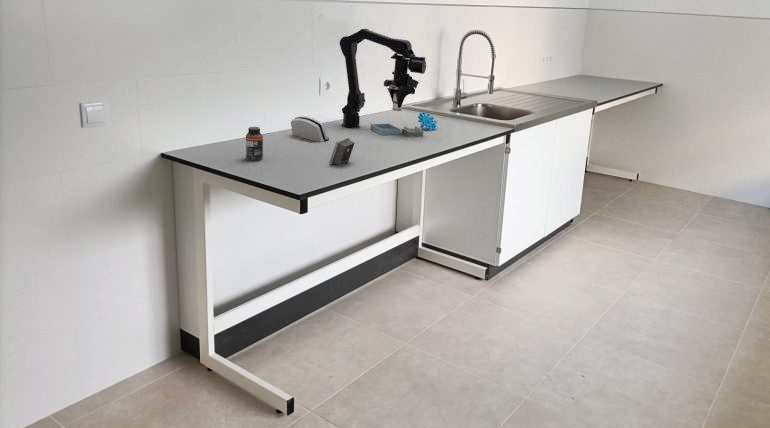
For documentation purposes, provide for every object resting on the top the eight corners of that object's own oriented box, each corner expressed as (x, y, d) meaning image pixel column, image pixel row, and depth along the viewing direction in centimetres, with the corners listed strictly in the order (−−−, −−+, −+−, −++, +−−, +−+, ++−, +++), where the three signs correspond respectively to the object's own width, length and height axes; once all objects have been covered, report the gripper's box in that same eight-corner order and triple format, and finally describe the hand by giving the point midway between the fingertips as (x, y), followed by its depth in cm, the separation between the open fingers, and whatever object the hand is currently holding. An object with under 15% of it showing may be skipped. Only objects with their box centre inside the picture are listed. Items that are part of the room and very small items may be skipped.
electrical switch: (340, 159, 243) (343, 135, 240) (352, 162, 242) (356, 138, 238) (328, 164, 235) (331, 139, 231) (341, 168, 233) (345, 143, 230)
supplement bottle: (255, 156, 239) (255, 125, 235) (266, 159, 235) (266, 128, 231) (242, 158, 234) (242, 127, 231) (253, 162, 231) (253, 130, 227)
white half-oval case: (330, 140, 270) (325, 118, 264) (322, 146, 267) (318, 124, 261) (300, 133, 279) (295, 111, 273) (292, 138, 276) (287, 116, 270)
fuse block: (408, 137, 286) (409, 129, 285) (401, 133, 292) (402, 125, 291) (423, 136, 289) (423, 128, 288) (415, 132, 295) (416, 125, 294)
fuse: (394, 110, 286) (396, 94, 283) (390, 108, 289) (392, 92, 287) (403, 110, 287) (404, 94, 285) (398, 108, 291) (400, 93, 288)
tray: (381, 135, 285) (381, 129, 285) (370, 129, 295) (370, 124, 294) (399, 134, 289) (400, 128, 289) (388, 129, 299) (388, 123, 298)
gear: (423, 128, 297) (416, 110, 301) (415, 135, 301) (409, 117, 305) (441, 130, 303) (435, 112, 307) (434, 137, 308) (428, 119, 311)
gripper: (427, 74, 278) (423, 111, 284) (407, 67, 294) (403, 102, 299) (404, 74, 273) (400, 111, 279) (384, 66, 289) (381, 102, 294)
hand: (397, 106), depth 288 cm, fingers closed on fuse, 4 cm apart
